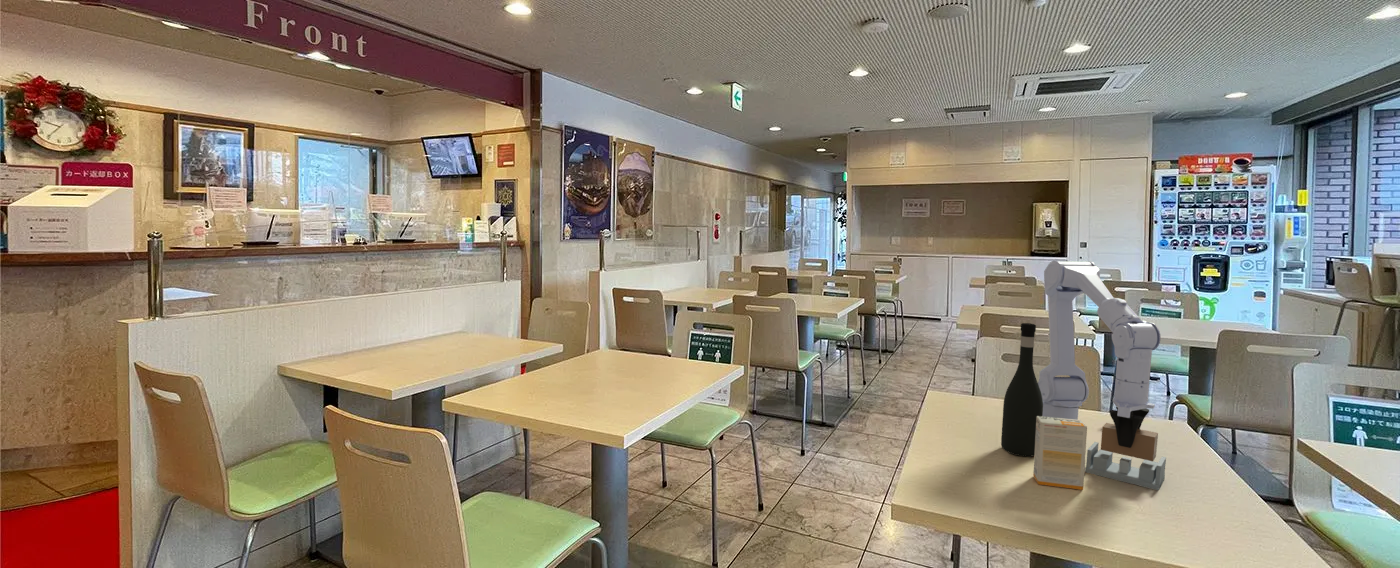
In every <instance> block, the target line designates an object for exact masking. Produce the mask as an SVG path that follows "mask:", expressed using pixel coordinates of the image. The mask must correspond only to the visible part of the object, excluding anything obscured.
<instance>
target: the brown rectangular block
mask: <svg viewBox="0 0 1400 568" xmlns="http://www.w3.org/2000/svg"><path fill="white" fill-rule="evenodd" d="M1158 437H1159V433H1158V432H1157V431H1156V432H1155V431H1151V430H1145V429H1141V428H1140V429H1137V431H1136V434H1135V438H1134V442H1133V445H1132V447H1131V448H1128V447H1123V446H1119V444H1118V439H1117V433H1116V428H1115V424H1114V423H1111V422H1106V423H1104V424H1103V425H1102V429H1101V440H1100V450H1104V451H1109V452H1113V454H1117V455H1122V456H1125V457H1126V456H1127V457H1132V458H1136V459H1140V460H1143V461H1144V460H1149V461H1154V460H1155V459H1156V457H1157V448H1158ZM1154 462H1155V461H1154Z"/></svg>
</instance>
